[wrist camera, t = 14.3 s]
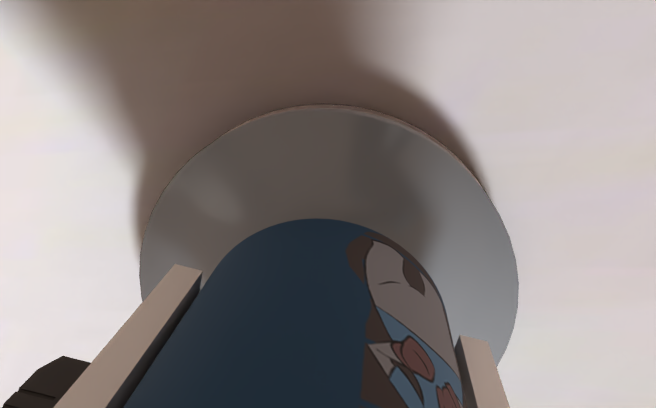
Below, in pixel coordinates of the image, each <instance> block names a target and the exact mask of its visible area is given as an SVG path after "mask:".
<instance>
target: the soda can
mask: <svg viewBox="0 0 656 408" xmlns="http://www.w3.org/2000/svg"><path fill="white" fill-rule="evenodd" d="M123 408H468V407H467V403H466V398H465V394H464V389H463V385H462V380H461V376H460V371H459V367H458V362H457V358H456V353H455V349H454V344H453V340H452V335H451V331H450V326H449V322H448V318H447V313H446V309H445V306H444V303H443V300H442V297H441V295H440V293H439V291H438V289H437V287H436V285H435V283H434V282H433V280H432V278H431V277H430V275H429V274H428V273H427V271H426V270H425V269H424V267H423V266H422V265H421V264H420V263H419V262H418V261H417V260H416V259H415V258H414V257H413V256H412V255H411V254H410V253H409V252H408V251H406V250H405V249H404V248H403V247H401V246H400V245H399V244H397V243H396V242H394V241H393V240H391V239H390V238H388V237H386V236H384V235H382V234H380V233H378V232H376V231H374V230H372V229H369V228H367V227H364V226H361V225H358V224H354V223H350V222H346V221H341V220H333V219H320V218H314V219H299V220H293V221H287V222H283V223H280V224H276V225H273V226H270V227H268V228H265V229H263V230H261V231H258V232H256V233H255V234H253V235H251V236H249V237H248V238H246V239H245V240H243V241H242V242H240V243H239V244H238V245H236V246H235V247H234V248H233V249H232V250H231V251H230V252H228V253H227V254H226V256H225V257H224V258H223V259H222V260H221V261H220V263H219V264H218V265H217V266H216V268H215V269H214V271H213V272H212V274H211V275H210V277H209V278H208V280H207V282H206V283H205V285H204V286H203V288H202V289H201V291H200V292H199V294H198V295H197V297H196V298H195V300H194V301H193V303H192V304H191V306H190V307H189V309H188V310H187V312H186V313H185V315H184V316H183V318H182V319H181V321H180V322H179V324H178V325H177V327H176V328H175V330H174V331H173V333H172V334H171V336H170V337H169V339H168V340H167V342H166V343H165V345H164V346H163V348H162V349H161V351H160V352H159V354H158V355H157V357H156V358H155V360H154V362H153V363H152V365H151V366H150V368H149V369H148V371H147V372H146V374H145V375H144V377H143V378H142V380H141V381H140V383H139V384H138V386H137V387H136V389H135V390H134V392H133V393H132V395H131V396H130V398H129V399H128V401H127V402H126V404H125V405H124V407H123Z"/></svg>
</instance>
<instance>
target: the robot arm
mask: <svg viewBox="0 0 656 408" xmlns="http://www.w3.org/2000/svg"><path fill="white" fill-rule="evenodd" d="M202 273H203V271H201V270H197V269H193V268H189V267H185V266H181V265H177V264H175V265H174V266H173V267H172V268H171V269H170V271H169V272H168V273H167V274H166V275H165V276H164V278H163V279H162V280H161V281H160V282H159V284H158V285H157V286H156V287H155V288H154V289H153V291H152V292H151V293H150V294H149V295H148V297H147V298H146V299H145V300H144V301H143V302H142V304H141V305H140V306H139V307H138V308H137V309H136V311H135V312H134V313H133V314H132V315H131V317H130V318H129V319H128V320H127V321H126V322H125V324H124V325H123V326H122V327H121V328H120V330H119V331H118V332H117V333H116V334H115V335H114V337H113V338H112V339H111V340H110V341H109V343H108V344H107V345H106V346H105V347H104V348H103V350H102V351H101V352H100V353H99V354H98V356H97V357H96V358H95V359H94V360H93V361H92V363H89V362H85V361H81V360H77V359H73V358H69V357H65V356H62V357H60V358H58V359H56V360H54V361H52V362H51V363H49V364H47V365H45V366H43V367H41V368H39V369H38V370H37V371H36V372H35V373H34V374H33V375H32V376H31V377H30V378H29V379H28V380H27V381H26V382H25V383H24V384H23V385H22V386H21V387H20V388H19V391H18V392H15V393H14V394H13V395H12V396H11V397H10V398H9V399H8V400H7V401H6V402H5V403H4V405H3V407H2V408H123V407H124V405H125V404H126V402H127V401H128V399H129V398H130V396H131V395H132V393H133V392H134V390H135V389H136V387H137V386H138V384H139V383H140V381H141V380H142V378H143V377H144V375H145V374H146V372H147V371H148V369H149V368H150V366H151V365H152V363H153V362H154V360H155V358H156V357H157V355H158V354H159V352H160V351H161V349H162V348H163V346H164V345H165V343H166V342H167V340H168V339H169V337H170V336H171V334H172V333H173V331H174V330H175V328H176V327H177V325H178V324H179V322H180V321H181V319H182V318H183V316H184V315H185V313H186V312H187V310H188V309H189V307H190V306H191V304H192V303H193V301H194V300H195V298H196V297H197V295H198V294H199V292H200V286H201V280H202ZM454 349H455V353H456V358H457V362H458V367H459V371H460V376H461V380H462V385H463V389H464V394H465V398H466V403H467V407H468V408H510V407H509V404H508V401H507V398H506V395H505V392H504V389H503V386H502V383H501V380H500V377H499V374H498V371H497V368H496V365H495V362H494V359H493V356H492V353H491V350H490V347H489V344H488V342H487V341H483V340H479V339H475V338H471V337H467V336H463V335H459V338H458V340H457V343H456V345H455V348H454Z"/></svg>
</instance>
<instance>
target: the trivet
mask: <svg viewBox="0 0 656 408" xmlns="http://www.w3.org/2000/svg"><path fill="white" fill-rule="evenodd" d="M314 218H320V219H333V220H341V221H346V222H350V223H354V224H358V225H361V226H364V227H367V228H369V229H372V230H374V231H376V232H378V233H380V234H382V235H384V236H386V237H388V238H390V239H391V240H393V241H394V242H396V243H397V244H399V245H400V246H401V247H403V248H404V249H405V250H406V251H408V252H409V253H410V254H411V255H412V256H413V257H414V258H415V259H416V260H417V261H418V262H419V263H420V264H421V265H422V266H423V267H424V269H425V270H426V271H427V273H428V274H429V275H430V277H431V278H432V280H433V282H434V283H435V285H436V287H437V289H438V291H439V293H440V295H441V297H442V300H443V303H444V306H445V309H446V313H447V318H448V322H449V326H450V331H451V335H452V340H453V344H454V348H455V345H456V343H457V340H458V338H459V335H463V336H467V337H471V338H475V339H479V340H483V341H487V342H488V344H489V347H490V350H491V353H492V356H493V359H494V362H495V365H496V367H497V365H498V364H499V362H500V360H501V358H502V356H503V354H504V352H505V350H506V348H507V345H508V343H509V340H510V337H511V334H512V331H513V328H514V323H515V318H516V313H517V308H518V286H519V283H518V274H517V266H516V259H515V255H514V252H513V248H512V244H511V241H510V237H509V235H508V233H507V230H506V228H505V226H504V224H503V221H502V219H501V217H500V215H499V213H498V212H497V210H496V208H495V207H494V205H493V204H492V202H491V201H490V199H489V197H488V196H487V194H486V193H485V191H484V190H483V188H482V186H481V185H480V183H479V182H478V180H477V179H476V177H475V176H474V175H473V174H472V173H471V172H470V170H469V169H468V168H467V167H466V166H465V165H464V163H463V162H462V161H461V160H460V159H459V158H458V157H457V156H456V155H455V154H453V153H452V152H451V151H450V150H449V149H448V148H447V147H445V146H444V145H443V144H442V143H441V142H439V141H438V140H436V139H435V138H433V137H432V136H430V135H429V134H427V133H426V132H424V131H423V130H421V129H419V128H417V127H415V126H413V125H411V124H409V123H407V122H405V121H403V120H400V119H398V118H396V117H393V116H390V115H387V114H384V113H381V112H378V111H374V110H370V109H365V108H360V107H354V106H349V105H333V104H315V105H302V106H294V107H290V108H285V109H280V110H276V111H272V112H269V113H266V114H263V115H261V116H258V117H255V118H253V119H250V120H248V121H246V122H244V123H242V124H240V125H238V126H237V127H235V128H233V129H231V130H229V131H228V132H226V133H225V134H223V135H222V136H221V137H219V138H218V139H216V140H215V141H214V142H212V143H211V144H210V145H208V146H207V147H205V148H204V149H203V150H201V151H200V152H199V153H197V154H196V155H194V156H193V157H192V158H191V159H190V160H189V161H188V162H187V163H186V164H185V165H184V166H183V167H182V168H181V169H180V170H179V171H178V172H177V173H176V175H175V176H174V177H173V179H172V180H171V181H170V183H169V184H168V185H167V187H166V188H165V189H164V191H163V192H162V194H161V196H160V198H159V200H158V201H157V203H156V205H155V207H154V209H153V211H152V213H151V216H150V219H149V222H148V224H147V227H146V230H145V233H144V238H143V243H142V248H141V254H140V274H139V276H140V286H141V297H142V301H144V300H145V299H146V298H147V297H148V295H149V294H150V293H151V292H152V291H153V289H154V288H155V287H156V286H157V285H158V284H159V282H160V281H161V280H162V279H163V278H164V276H165V275H166V274H167V273H168V272H169V271H170V269H171V268H172V267H173V266H174V265H175V264H177V265H181V266H185V267H189V268H193V269H197V270H201V271H203V273H202V280H201V286H200V291H201V289H202V288H203V286H204V285H205V283H206V282H207V280H208V278H209V277H210V275H211V274H212V272H213V271H214V269H215V268H216V266H217V265H218V264H219V263H220V261H221V260H222V259H223V258H224V257H225V256H226V254H227V253H228V252H230V251H231V250H232V249H233V248H234V247H235V246H236V245H238V244H239V243H240V242H242V241H243V240H245V239H246V238H248V237H249V236H251V235H253V234H255V233H256V232H258V231H261V230H263V229H265V228H268V227H270V226H273V225H276V224H280V223H283V222H287V221H293V220H299V219H314Z"/></svg>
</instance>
